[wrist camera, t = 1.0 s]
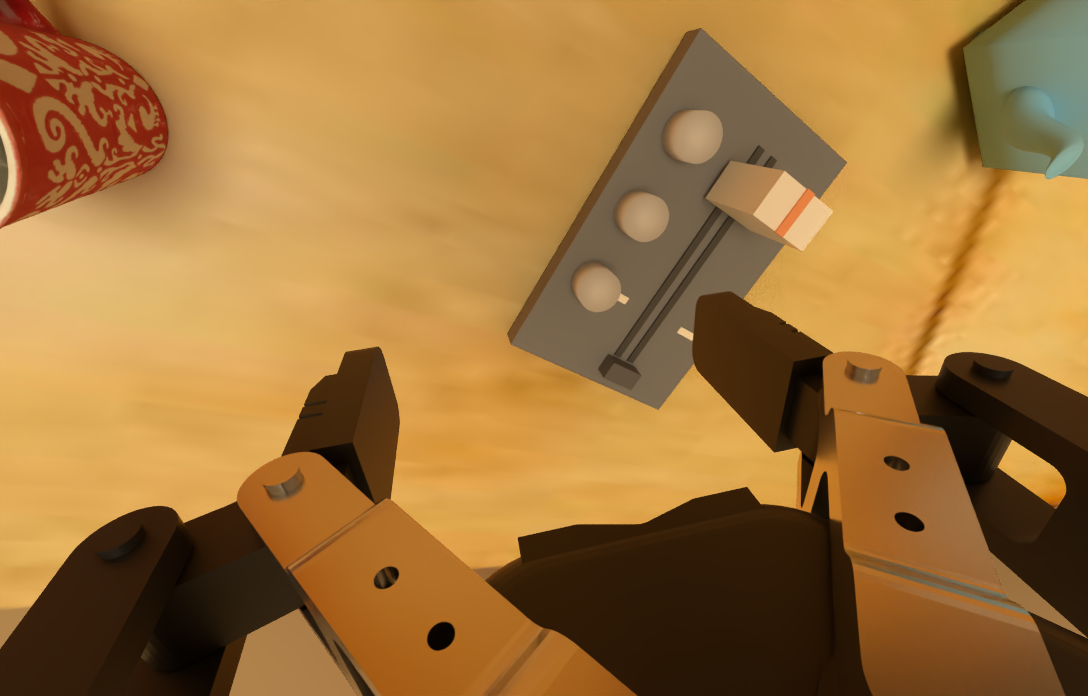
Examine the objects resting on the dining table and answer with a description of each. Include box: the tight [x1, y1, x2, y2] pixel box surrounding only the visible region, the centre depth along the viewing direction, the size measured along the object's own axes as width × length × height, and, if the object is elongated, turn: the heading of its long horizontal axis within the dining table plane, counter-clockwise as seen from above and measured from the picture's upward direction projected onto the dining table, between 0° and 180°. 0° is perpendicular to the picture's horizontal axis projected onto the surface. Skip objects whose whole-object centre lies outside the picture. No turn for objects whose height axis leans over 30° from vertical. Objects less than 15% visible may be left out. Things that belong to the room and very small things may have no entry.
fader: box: [705, 161, 833, 251], centre depth 32 cm, size 3×5×6 cm, turn 59°
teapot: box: [963, 0, 1088, 179], centre depth 32 cm, size 18×16×13 cm
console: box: [508, 28, 847, 410], centre depth 36 cm, size 25×16×4 cm, turn 149°
